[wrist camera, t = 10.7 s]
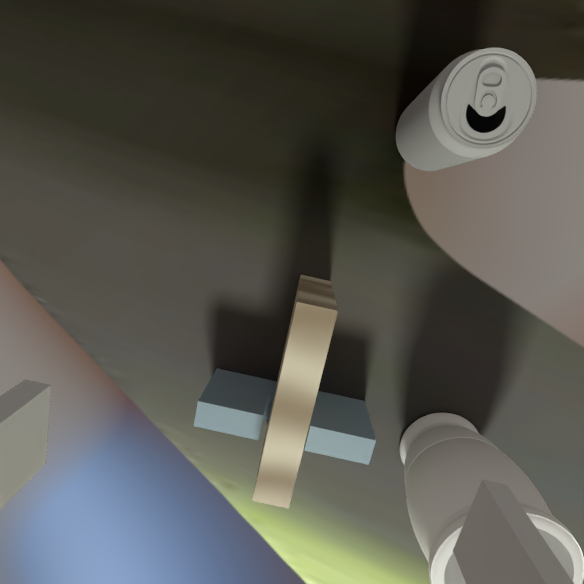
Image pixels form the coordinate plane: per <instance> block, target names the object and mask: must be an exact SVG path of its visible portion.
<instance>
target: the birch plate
mask: <svg viewBox="0 0 584 584" xmlns="http://www.w3.org/2000/svg"><path fill="white" fill-rule="evenodd" d="M337 313H338V309H337V305H336V301H335V297H334V293H333V289H332V285H331V281H328V280H323V279H319V278H314V277H310V276H305V275H301V276H300V280H299V285H298V289H297V294H296V298H295V303H294V307H293V312H292V316H291V321H290V325H289V330H288V334H287V339H286V343H285V348H284V352H283V356H282V361H281V365H280V370H279V374H278V379H277V385H276V390H275V395H274V399H273V404H272V408H271V413H270V417H269V420H268V424H267V429H266V434H265V439H264V444H263V449H262V454H261V459H260V464H259V469H258V474H257V479H256V484H255V489H254V494H253V499H252V501H256V502H261V503H265V504H270V505H274V506H279V507H284V508H289V505H290V501H291V497H292V493H293V489H294V485H295V481H296V477H297V473H298V469H299V465H300V461H301V457H302V453H303V449H304V445H305V441H306V437H307V433H308V429H309V425H310V421H311V417H312V413H313V409H314V405H315V401H316V397H317V393H318V389H319V385H320V381H321V377H322V373H323V369H324V365H325V361H326V357H327V353H328V349H329V345H330V341H331V337H332V333H333V329H334V325H335V321H336V317H337Z"/></svg>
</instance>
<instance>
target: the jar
mask: <svg viewBox="0 0 584 584" xmlns="http://www.w3.org/2000/svg"><path fill="white" fill-rule="evenodd" d="M400 456H401V459H402V462H403V464H404V481H405V488H406V499H407V506H408V512H409V516H410V520H411V523H412V527H413V530H414V532H415V535H416V537H417V540H418V542H419V544H420V547H421V549H422V551H423V553H424V555H425V557H426V559H427V560H428V562H429V563H428V571H429V578H430V582H431V584H466V582H465V580H464V577H463V575H462V572H461V570H460V567H459V565H458V562H457V560H456V557H455V555H454V552H453V549H454V546H455V544H456V541H457V539H458V537H459V534H460V532H461V529H462V527H463V525H464V522H465V520H466V517H467V515H468V512H469V510H470V508H471V505H472V503H473V500H474V498H475V496H476V493H477V491H478V488H479V486H480V483H481V481H482V479H483V480H488V481H492V482H497V483H501V484H506V485H507V486H508V487H509V489H510V490H511V491H512V493H513V494H514V496H515V497H516V499H517V500H518V502H519V503H520V505H521V506H522V508H523V509H524V511H525V512H526V514H527V515H528V516H529V518H530V519H531V521H532V522H533V524H534V525H535V527H536V528H537V530H538V531H539V533H540V534H541V536H542V537H543V538H544V540H545V541H546V543H547V544H548V546H549V547H550V549H551V550H552V552H553V553H554V555H555V556H556V558H557V559H558V560H559V562H560V563H561V565H562V566H563V568H564V569H565V571H566V572H567V574H568V575H569V577H570V578H571V580H572V581H573V583H574V584H582V583H583V579H584V557H583V553H582V550H581V548H580V546H579V544H578V543H577V541H576V539H575V538H574V536H573V535H572V534H571V532H570V531H569V530H568V529H567V528H566V527H565V526H564V525H563V524H562V523H561V522H560V521H559V520H557V519H556V518H555V517H553V516H552V514H551V512H550V510H549V509H548V507H547V505H546V503H545V501H544V500H543V498H542V497H541V495H540V493H539V492H538V490H537V489H536V488H535V486H534V485H533V483H532V482H531V481H530V480H529V478H528V477H527V476H526V475H525V474H524V472H523V471H522V470H521V469H520V468H519V467H518V466H517V465H516V464H515V463H514V462H513V461H512V460H511V459H509V458H508V457H507V456H506V455H505V454H503V453H502V452H501V451H500V450H499V449H498V448H497V447H496V446H495V445H494V444H492V443H491V442H490V441H489V440H487V439H486V438H485V437H483V436H482V435H480V434H479V433H478V431H477V429H476V428H475V427H474V426H473V424H472V423H470V422H469V421H468V420H466V419H465V418H463V417H461V416H459V415H456V414H452V413H433V414H429V415H426V416H424V417H421V418H419V419H418V420H416V421H415V422H413V423H412V424H411V425H410V426H409V427H408V428H407V430H406V431H405V433H404V434H403V436H402V439H401V442H400Z"/></svg>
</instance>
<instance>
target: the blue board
mask: <svg viewBox="0 0 584 584" xmlns="http://www.w3.org/2000/svg"><path fill="white" fill-rule="evenodd" d="M276 385H277V381H272V380H268V379H263V378H258V377H254V376H249V375H245V374H240V373H236V372H231V371H227V370H222V369H218V368H217V369H216V371H215V373H214V374H213V376H212V378H211V380H210V381H209V383H208V385H207V387H206V388H205V390H204V392H203V394H202V395H201V397H200V399H199V401H198V405H197V410H196V416H195V422H194V426H196V427H201V428H205V429H210V430H214V431H219V432H223V433H228V434H232V435H237V436H241V437H246V438H250V439H255V440H258V439H259V435H260V430H261V426H262V421H263V419H265V420H269V417H270V413H271V408H272V404H273V399H274V395H275V390H276ZM375 442H376V439H375V435H374V432H373V428H372V424H371V421H370V417H369V413H368V410H367V406H366V403H365V401H362V400H358V399H353V398H349V397H344V396H340V395H335V394H331V393H326V392H322V391H318V393H317V397H316V401H315V405H314V409H313V413H312V417H311V421H310V425H309V429H308V433H307V437H306V441H305V445H304V450H305V451H309V452H314V453H318V454H323V455H327V456H332V457H336V458H341V459H345V460H350V461H354V462H359V463H363V464H368V465H369V462H370V459H371V455H372V452H373V449H374V445H375Z"/></svg>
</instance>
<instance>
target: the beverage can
mask: <svg viewBox="0 0 584 584" xmlns="http://www.w3.org/2000/svg"><path fill="white" fill-rule="evenodd" d="M536 100H537V87H536V80H535V77H534V74H533V72H532V70H531V68H530V66H529V65H528V64H527V62H526V61H525V60H524V59H523V58H522V57H520V56H519V55H518V54H516V53H514V52H512V51H510V50H507V49H503V48H486V49H479V50H474V51H470V52H468V53H465V54H463V55H461V56H459V57H458V58H456V59H455V60H453V61H452V62H451V63H450V64H449V65H448V66H447V67H446V68H445V69H444V70H443V71H442V72H441V73H440V74H439V75H438V76H437V77H436V78H435V79H434V80H433V81H432V82H431V83H430V84H429V85H428V86H427V87H426V88H425V89H424V90H423V91H422V92H421V93H420V94H419V95H418V96H417V97H416V98H415V99H414V100H413V101H412V102H411V104H410V105H409V106H408V107H407V108H406V109H405V110H404V112H403V113H402V115H401V117H400V119H399V121H398V124H397V128H396V143H397V147H398V150H399V152H400V154H401V156H402V157H403V159H404V160H405V161H406V162H407V163H408V164H410V165H411V166H413V167H414V168H417V169H420V170H424V171H436V170H440V169H444V168H447V167H451V166H454V165H458V164H461V163H465V162H468V161H472V160H476V159H479V158H482V157H486V156H489V155H492V154H495V153H497V152H499V151H501V150H502V149H504V148H505V147H507V146H508V145H509V144H511V143H512V142H513V141H514V140H515V139H516V137H517V136H518V135H519V134H520V132H521V131H522V130H523V129H524V128H525V126H526V125H527V123H528V122H529V120H530V119H531V116H532V114H533V112H534V109H535V104H536Z"/></svg>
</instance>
